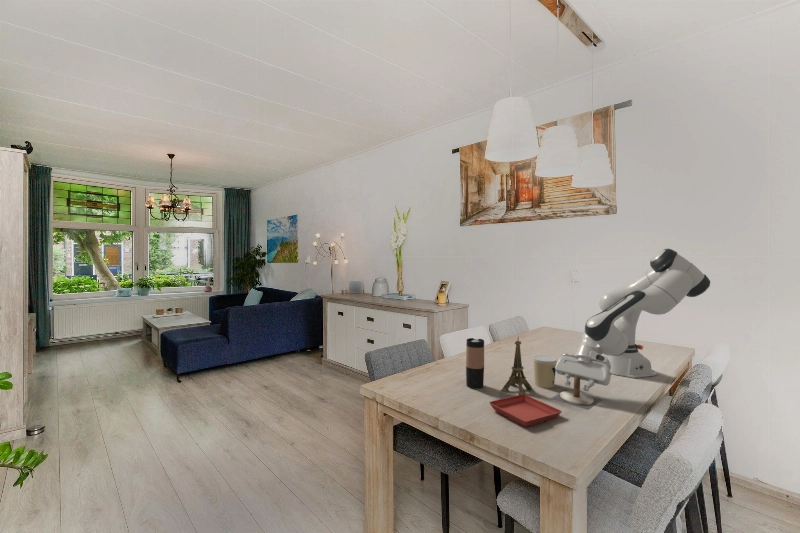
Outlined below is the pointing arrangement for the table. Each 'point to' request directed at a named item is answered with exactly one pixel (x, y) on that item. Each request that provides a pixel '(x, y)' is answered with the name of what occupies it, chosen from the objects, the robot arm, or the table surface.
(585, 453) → the table surface
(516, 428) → the table surface
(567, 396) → the lid
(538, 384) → the coffee cup
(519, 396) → the plant saucer
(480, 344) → the travel mug
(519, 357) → the eiffel tower
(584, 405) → the mat
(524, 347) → the table surface
